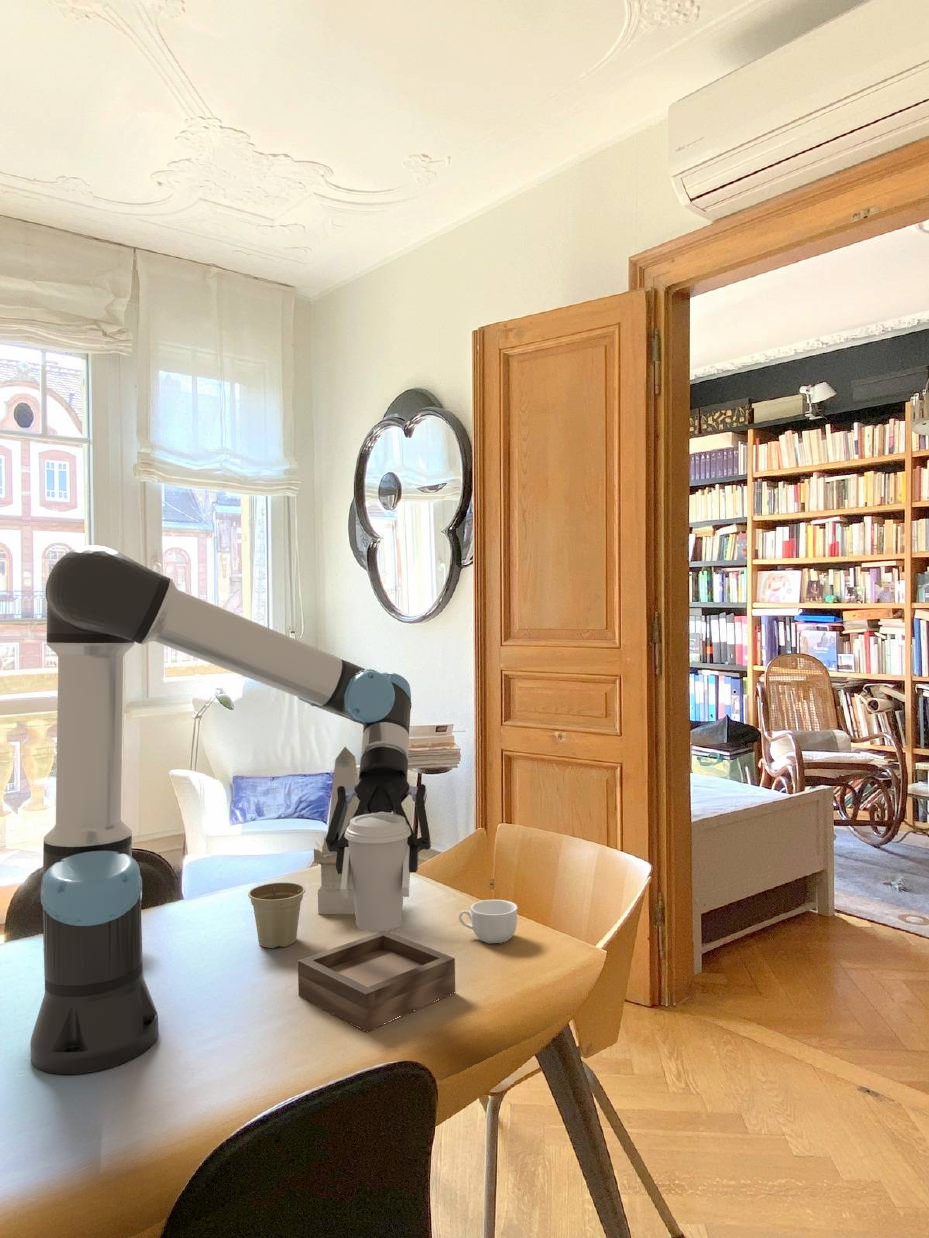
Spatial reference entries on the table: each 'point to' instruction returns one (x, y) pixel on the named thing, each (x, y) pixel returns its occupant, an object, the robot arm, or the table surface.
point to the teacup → (492, 920)
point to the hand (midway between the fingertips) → (375, 892)
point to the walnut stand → (376, 979)
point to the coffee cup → (377, 869)
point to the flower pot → (277, 912)
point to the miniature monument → (330, 879)
